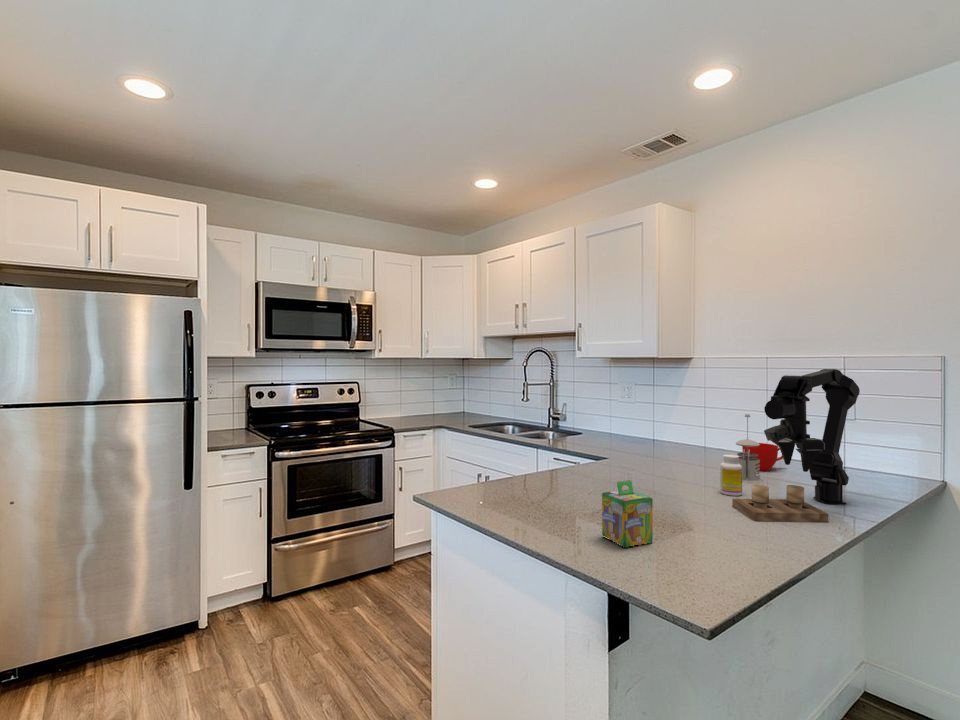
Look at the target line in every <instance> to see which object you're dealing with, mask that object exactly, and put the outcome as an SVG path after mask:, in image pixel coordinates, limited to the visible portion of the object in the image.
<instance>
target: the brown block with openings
mask: <svg viewBox="0 0 960 720" xmlns="http://www.w3.org/2000/svg"><path fill="white" fill-rule="evenodd" d="M731 505H732V506H731V507H732V508H734V509H736V510H737V511H738V512H740V513H742V514H743V515H745V516H746V517H748V518H749V519H751V520H752V521H754V522H783V523H784V522H788V523H789V522H791V523H792V522H794V523H795V522H797V523H799V522H800V523H829V521H830V520H829V519H830V518H829V513H828V512H826V511H823V510H822V509H820V508H818V507H816V506H813V505H812V504H810V503H808V502H806V501H804V504H802V509H797V508H790V507H788V502H786V498H785V499H781V498H779V499H778V498H776V499H775V498H770V487H769V486H767V485H764V484H752V485H751V498H732V503H731Z"/></svg>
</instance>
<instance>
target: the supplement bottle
mask: <svg viewBox="0 0 960 720" xmlns="http://www.w3.org/2000/svg"><path fill="white" fill-rule="evenodd" d="M722 457H723V461H722V462H721V463H720V465H719V467H720V468H719V471H720V472H719V474H720V475H719V480H720V481H719V482H720V483H719V484H720V486H719V487H720V489H719V490H720V491H719V492H720V493H721V494H723V495H725V496H730V497H731V496H732V497H734V496H735V497H739V496H742V494H743V482H742V466H741V465H740V464H739V463H738V460H739V457H740V456H738V455H737V454H723V456H722Z"/></svg>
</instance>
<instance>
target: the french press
mask: <svg viewBox="0 0 960 720" xmlns="http://www.w3.org/2000/svg"><path fill="white" fill-rule="evenodd" d="M744 417H745V418H746V419H747V420H746V422H747V423H746V425H747V426H746V435H747V437H746V439H740V440H738V441H736V442H735V446H740V447H742V446H746V447H747V452H745V449H744V452H745V453H744V452H743V451H742V452H738V453H736V456H739V460H738V463H739V464H740V465H741V466H742V483H744V484H745V483H746V484H762V483H763V480H762V479H761V476H760V473H761V471H759V470H760V468H759V467H760V465H757V466H756V464H759V463H760V459H758V458H754V457H758V455H757V454H753V453H749V452H750V449H749V452H748V447H756V446H759V445H760V444H759V443H760V442H757V441H756V440H752V439H749V418H751V414H750V413H746V414H744ZM755 468H758V469H755Z"/></svg>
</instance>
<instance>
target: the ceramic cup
mask: <svg viewBox="0 0 960 720" xmlns="http://www.w3.org/2000/svg"><path fill="white" fill-rule="evenodd" d="M758 443H759V444H760V445H759V446H756V447H748V452H749V449H750V452H749V453H753V454H757V455H758V457H754V458H758V459H760V463H759V464H756V466H757V465H760V467H759V468H760V470H759V471H760V472H769V471H770V470H771V469H772V468H773V467H774V466H775V464H776V462H778V461H781V460H782V459H783V456H782V455H781V456H779V457H778V455H779V451H780V448H779V447H778V446H777V445H776V444H774V443H773V444H772V443H766V442H765V443H763V442H758ZM741 448H742V453H743V452H744V449H745V452H747V447H746V446H741ZM745 452H744V453H745ZM755 469H758V468H755ZM768 470H769V471H768ZM759 471H758V472H759Z"/></svg>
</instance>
